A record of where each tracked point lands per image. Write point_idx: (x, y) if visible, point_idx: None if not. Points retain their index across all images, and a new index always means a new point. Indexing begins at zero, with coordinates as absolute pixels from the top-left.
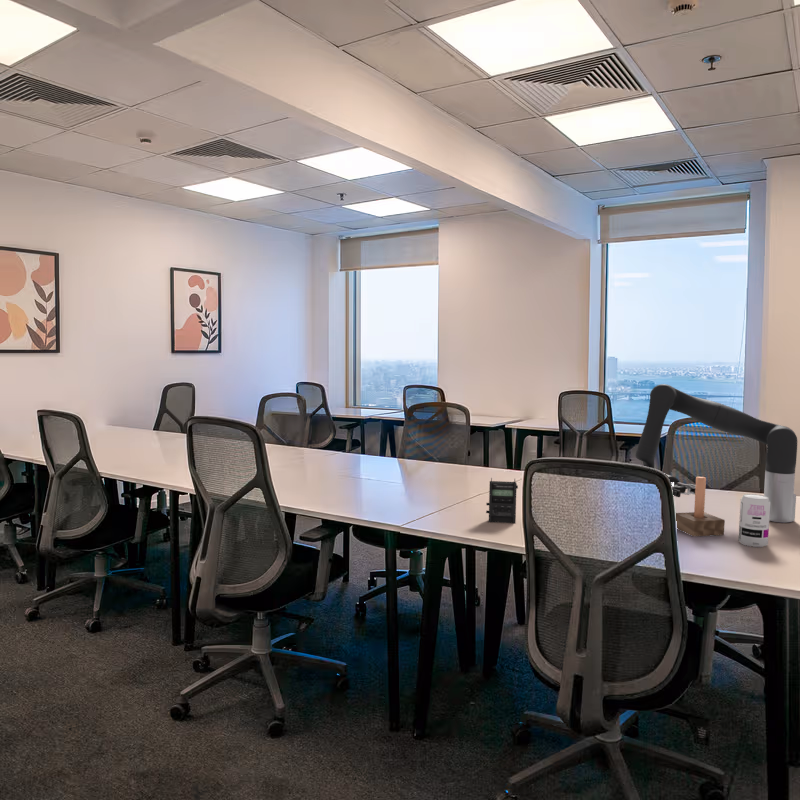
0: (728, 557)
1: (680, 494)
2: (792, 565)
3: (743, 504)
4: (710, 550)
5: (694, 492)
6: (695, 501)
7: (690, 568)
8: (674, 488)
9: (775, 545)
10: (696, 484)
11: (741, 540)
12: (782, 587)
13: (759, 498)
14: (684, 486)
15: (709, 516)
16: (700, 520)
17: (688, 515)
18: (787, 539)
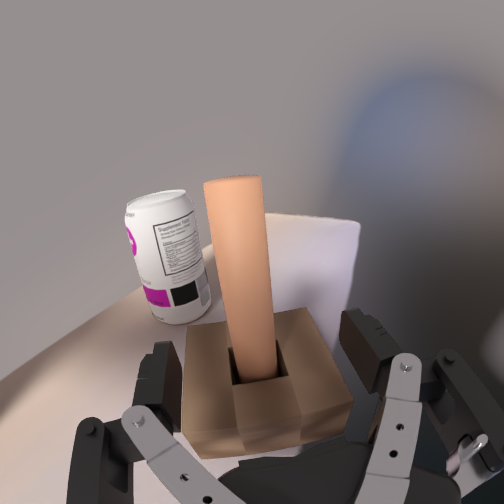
0: (285, 255)
1: (340, 325)
2: (208, 246)
3: (194, 211)
4: (302, 273)
5: (171, 432)
6: (272, 305)
7: (354, 228)
8: (360, 444)
9: (144, 303)
10: (264, 218)
11: (210, 296)
12: (272, 213)
13: (161, 195)
14: (223, 483)
15: (210, 362)
16: (279, 316)
17: (298, 370)
18: (82, 331)
